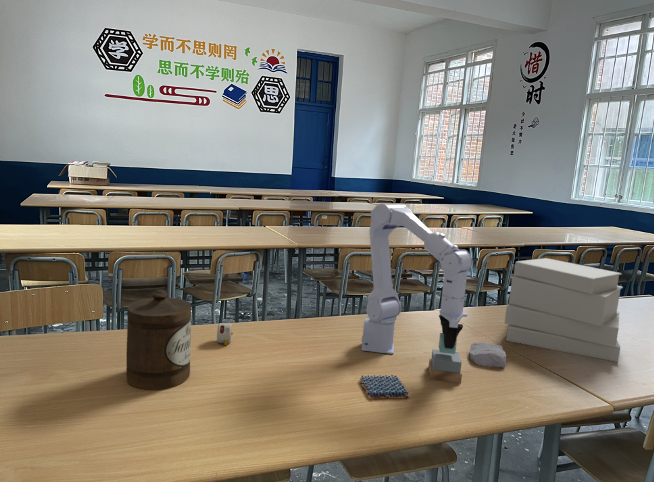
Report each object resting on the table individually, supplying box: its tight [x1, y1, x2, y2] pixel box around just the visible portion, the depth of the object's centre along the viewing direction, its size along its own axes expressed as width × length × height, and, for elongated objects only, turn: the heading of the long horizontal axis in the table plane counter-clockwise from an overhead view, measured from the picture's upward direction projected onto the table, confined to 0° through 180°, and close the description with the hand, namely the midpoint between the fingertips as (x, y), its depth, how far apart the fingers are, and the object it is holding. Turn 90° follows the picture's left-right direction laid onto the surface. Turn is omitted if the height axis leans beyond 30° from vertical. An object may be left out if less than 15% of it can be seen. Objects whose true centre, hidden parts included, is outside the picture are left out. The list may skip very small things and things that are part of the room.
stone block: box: [469, 341, 507, 369], centre depth 144 cm, size 12×5×10 cm
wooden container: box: [125, 289, 192, 391], centre depth 117 cm, size 15×15×22 cm
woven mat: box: [359, 374, 410, 400], centre depth 120 cm, size 10×11×2 cm
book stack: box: [504, 257, 624, 363], centre depth 162 cm, size 30×35×26 cm
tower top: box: [431, 349, 462, 373], centre depth 130 cm, size 7×7×3 cm
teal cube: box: [438, 332, 458, 354], centre depth 129 cm, size 4×4×4 cm
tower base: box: [428, 357, 463, 384], centre depth 131 cm, size 8×8×3 cm
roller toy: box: [216, 322, 234, 346], centre depth 143 cm, size 4×6×6 cm
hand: (448, 345), depth 129 cm, fingers closed on teal cube, 4 cm apart
